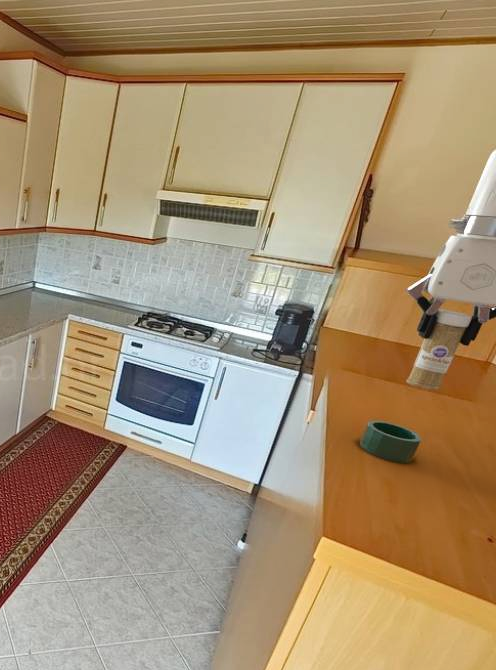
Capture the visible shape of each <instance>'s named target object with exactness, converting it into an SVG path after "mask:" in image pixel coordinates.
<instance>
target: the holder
mask: <svg viewBox="0 0 496 670" xmlns="http://www.w3.org/2000/svg"><path fill="white" fill-rule="evenodd" d="M422 440H423V439H422V437H421V435H420V434H418V433H416V432H415V431H414V430H411V429H410V428H407V427H405V426H402V425H400V424H396V423H393V422H389V421H388V422H387V421H383V420H369V421H368V422H367V423H366V426H365V429H364V431H363V433H362V435H361V438H360V440H359V446H360V447H361V448H362V449H363V450H364V451H366V452H367V453H369V454H372V455H374V456H376V457H378V458H381V459H384V460H387V461H391V462H394V463H401V464H406V463H411V462H412V461H413V459H414V457H415V455H416V453H417V450H418V449H419V447H420V444H421V442H422Z"/></svg>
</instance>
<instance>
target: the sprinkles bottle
mask: <svg viewBox="0 0 496 670" xmlns="http://www.w3.org/2000/svg"><path fill="white" fill-rule="evenodd" d="M436 316H437V317H438V318H437V321H436V323H435V325H434V328H433V330H432V332H431V334H430V337H429V338H427V339H425V338H424V340H423V341H422V344H421V347H420V349H419V352H418V354H417V356H416V358H415V361H414V363H413V367H412V370H411V372H410V374H409V376H408V378H407V379H406V383H407V384H408V385H410V386H413V387H415V388H418V389H422V390H426V391H433V392H434V391H438V390H440V386H441V384H442V381H443V379H444V377H445V375H446V373H447V371H448V370H449V367H450V365H451V364H452V361H453V358H454V356H455V354H456V352H457V350H458V348H459V345H460V340H461V337H462V335H463V333H464V331H465V329H466V327H468V326H469V324H470V321H471V319H472V317H471V316H472V315H470V314H467V313H464V312H460V311H455V310H454V311H453V310H448V309H447V310H446V309H438V311H437V313H436Z"/></svg>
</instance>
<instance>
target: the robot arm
mask: <svg viewBox="0 0 496 670" xmlns="http://www.w3.org/2000/svg"><path fill="white" fill-rule="evenodd" d="M491 152H492V153H491V154H490V155H489V157H488V159H487V162H486V164H485V167H484V169H483V171H482V174H481V176H480V179H479V181H478V184H477V186H476V188H475V191H474V193H473V195H472V198H471V200H470V203H469V205H468V207H467V209H466V212H465V215H462V217H461V218H458V219H457V218H451V220H450V221H449V224H448V227H449V228H452V229H453V228H454V229H455V230H456V235H450V237H449V238H448V240H447V241H446V242H445V244H444V245H443V246H442V248H441V250H440V252H439V253H438V255H437V257H436V259H435V260H434V262H433V264H432V266H431V267H430V270H429V271H428V274H427V276H425V277H423V278H422V279H420V280H419V281H417V282H415V283H414V284H413V285H410V286H409V287H408V288H407V289H406V290H405V291H406V293H407V294H408V295H409V296H410V297H411V298H412V299H413V300H414V301H415V302H416V303H417V305H418V306H419V307H420V309H421V311H422V312H423V313H422V315H421V317H420V321H419V323H418V325H417V328H416V331H417V332H418V336H420V337H421V338H422V339H424V340H425V339H427V338H429V337H430V334H431V332H432V330H433V328H434V325H435V323H436V321H437V318H438V317H437V316H436V313H437V311H438V310H440V308H441V307H442V306H443V304H444V303H445V302H446V301H453V302H458V303H459V302H460V303H467V304H473V306H472V314H471V315H470V316H471V317H472V319H471V321H470V324H469V326H468V327H466V329H465V331H464V333H463V335H462V337H461V340H460V342H459V344H461V345H462V346H466V347H469V345H470V344H471V342H472V341H473V342H475V340H476V338H477V337H478V334H479V332H480V330H481V328H482V326H483V324H487V323H488V322H489V321H490V320H493V319H495V318H496V148H495V149H494V150H493V151H491ZM422 291H423V292H425V293H426V294H427V295H431V296H430V298H429V299H428V298H427V297H426V296H424V294H423V293H422Z"/></svg>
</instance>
